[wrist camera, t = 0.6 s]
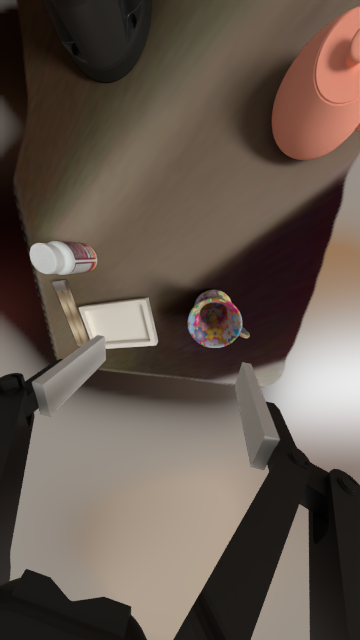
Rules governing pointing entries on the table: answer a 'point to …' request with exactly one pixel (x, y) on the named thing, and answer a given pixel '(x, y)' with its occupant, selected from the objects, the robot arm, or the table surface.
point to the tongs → (71, 311)
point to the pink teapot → (321, 92)
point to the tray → (121, 323)
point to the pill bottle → (63, 257)
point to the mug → (215, 320)
